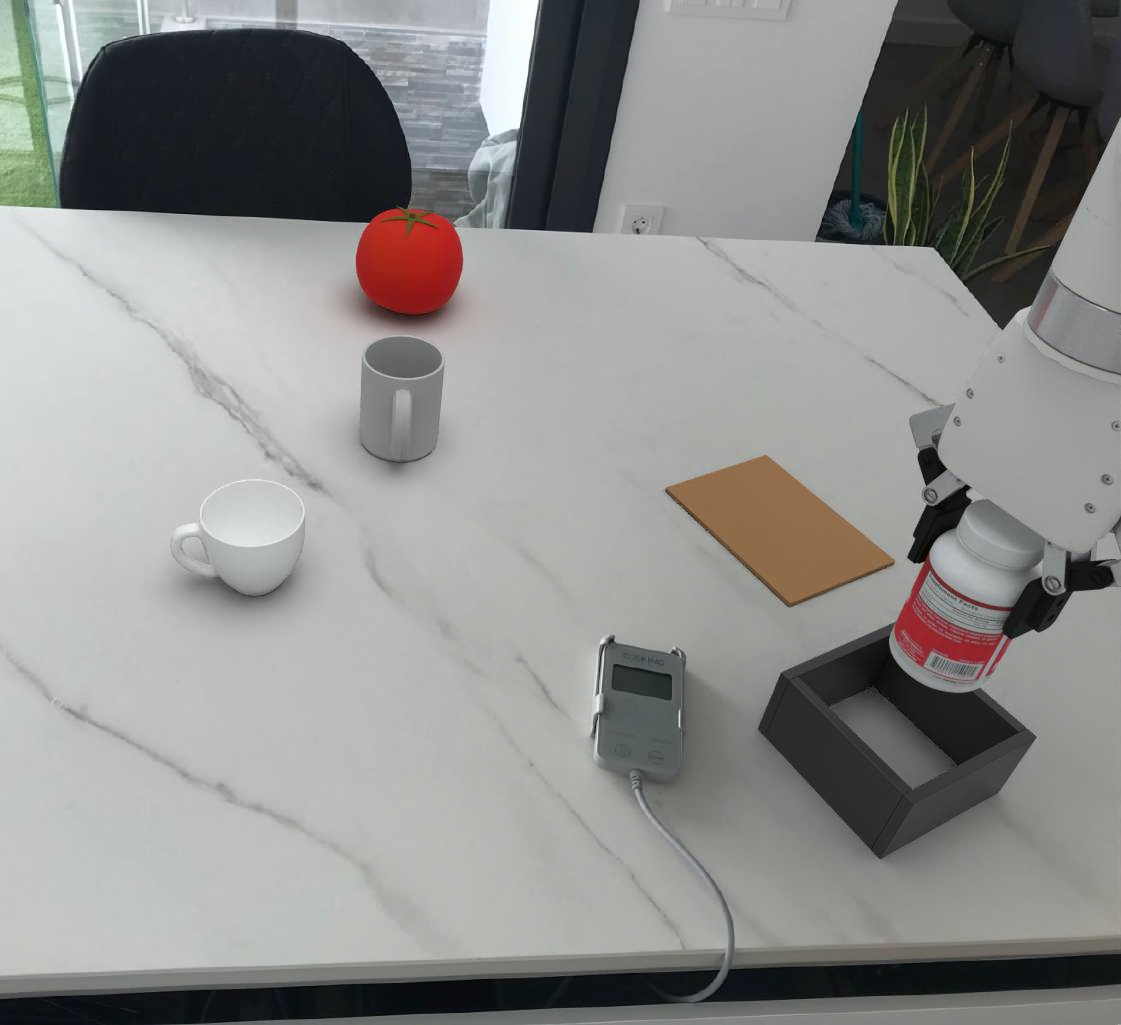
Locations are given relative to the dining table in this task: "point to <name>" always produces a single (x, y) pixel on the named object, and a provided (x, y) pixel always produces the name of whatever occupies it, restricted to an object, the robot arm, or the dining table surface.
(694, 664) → the dining table surface
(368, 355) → the cup
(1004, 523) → the pill bottle
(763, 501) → the cork mat
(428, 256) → the tomato
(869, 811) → the bin
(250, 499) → the cup
